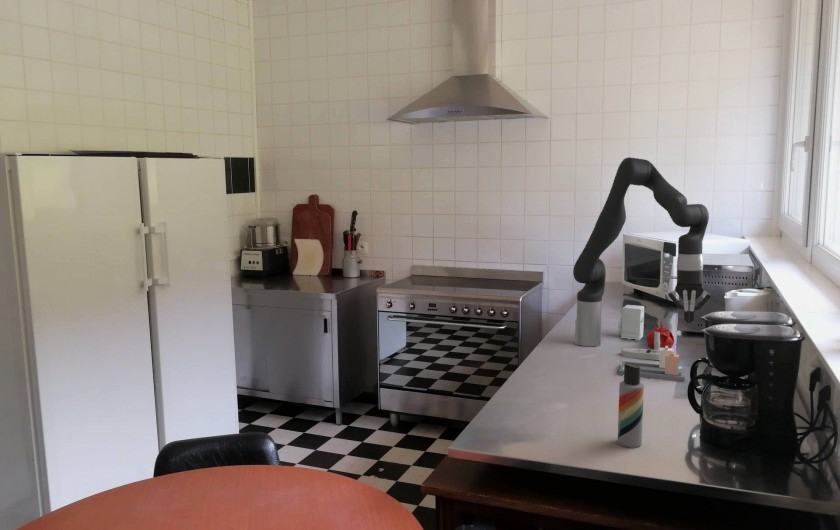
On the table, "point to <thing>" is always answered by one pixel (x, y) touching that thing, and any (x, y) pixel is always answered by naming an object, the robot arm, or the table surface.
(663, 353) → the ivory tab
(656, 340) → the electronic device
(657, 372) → the switch panel
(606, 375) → the table surface
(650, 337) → the pomegranate
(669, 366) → the terracotta tab
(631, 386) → the lotion bottle
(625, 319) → the supplement box
